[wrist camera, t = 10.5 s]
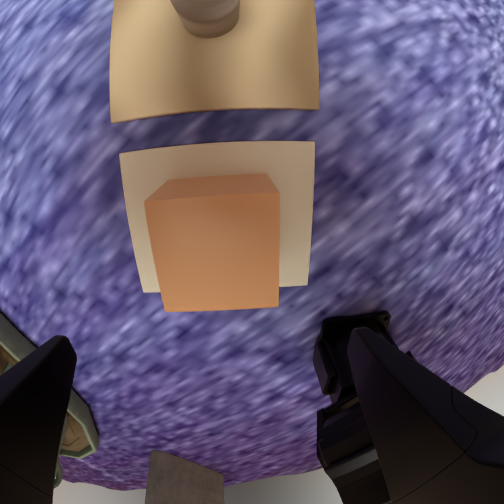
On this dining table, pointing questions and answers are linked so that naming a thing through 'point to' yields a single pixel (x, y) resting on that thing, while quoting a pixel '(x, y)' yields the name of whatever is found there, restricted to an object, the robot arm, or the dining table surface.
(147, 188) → the pad
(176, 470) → the hip flask
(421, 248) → the dining table surface
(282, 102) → the post stand
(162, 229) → the orange cube
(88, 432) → the tea set
